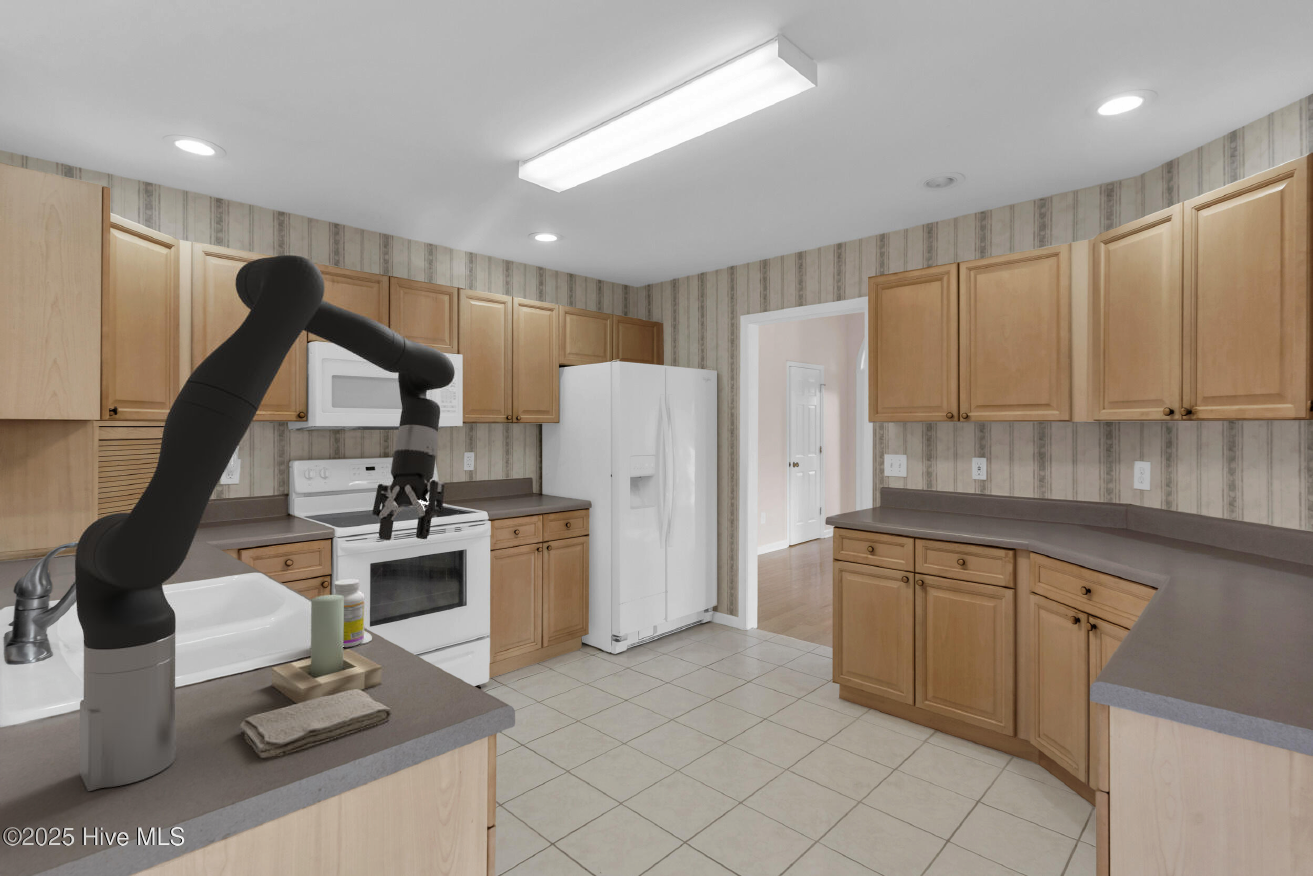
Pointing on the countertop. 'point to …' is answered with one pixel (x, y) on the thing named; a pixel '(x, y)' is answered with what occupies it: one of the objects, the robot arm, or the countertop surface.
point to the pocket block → (325, 678)
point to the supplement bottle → (351, 611)
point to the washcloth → (312, 722)
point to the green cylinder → (327, 635)
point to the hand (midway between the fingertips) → (403, 539)
